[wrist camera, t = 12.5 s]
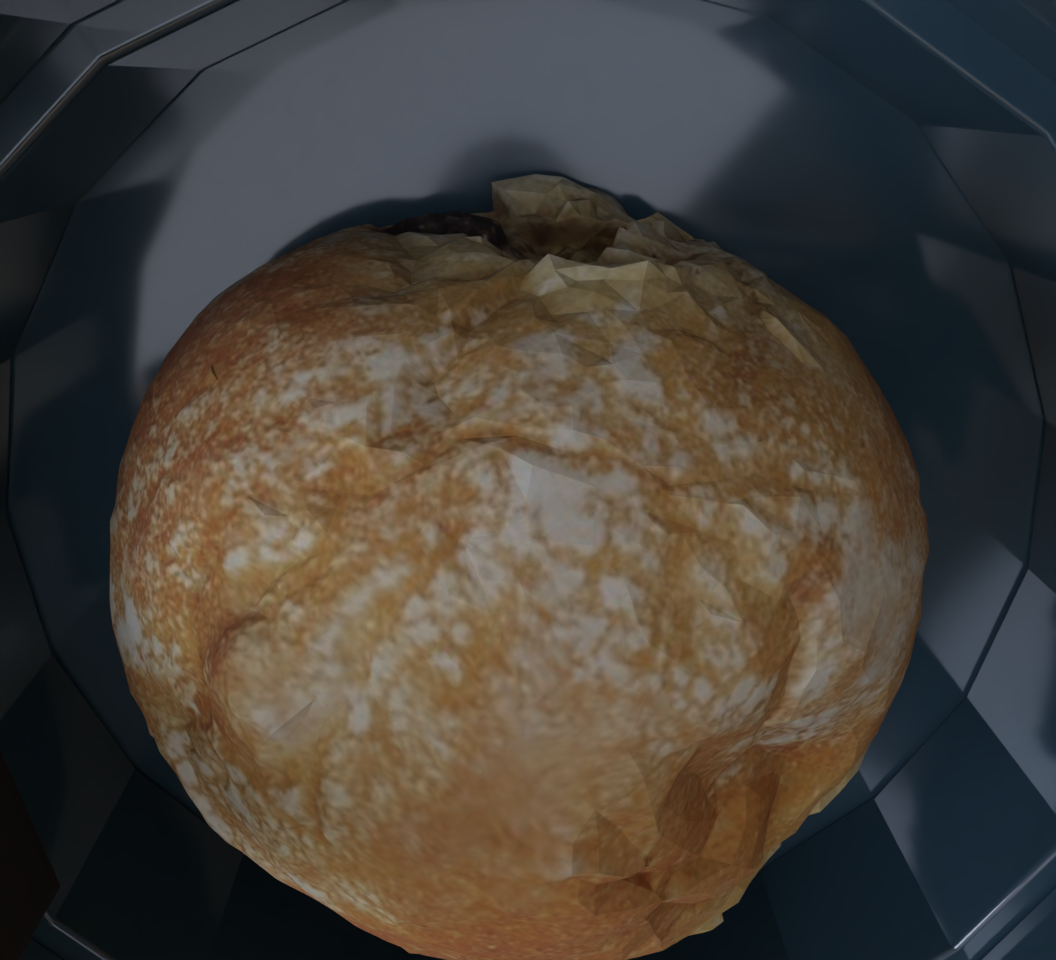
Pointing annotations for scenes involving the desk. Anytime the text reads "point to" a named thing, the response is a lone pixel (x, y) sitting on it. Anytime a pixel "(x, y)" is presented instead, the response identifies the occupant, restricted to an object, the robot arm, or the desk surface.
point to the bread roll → (515, 573)
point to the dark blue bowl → (466, 185)
